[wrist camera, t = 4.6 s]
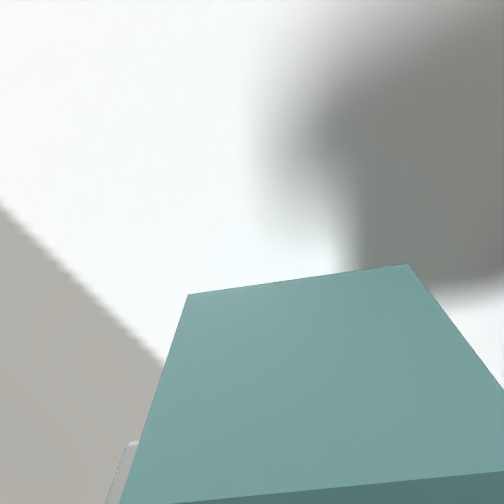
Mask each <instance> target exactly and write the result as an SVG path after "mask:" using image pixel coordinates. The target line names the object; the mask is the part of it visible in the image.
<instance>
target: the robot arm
mask: <svg viewBox="0 0 504 504" xmlns="http://www.w3.org/2000/svg"><path fill="white" fill-rule="evenodd" d="M138 444H139V441H131V442H130V443H129V444H128V445H127V447H126V448H125V450H124V453H123V456H122V459H121V461H120V464H119V467H118V469H117V472H116V475H115V478H114V480H113V483H112V486H111V489H110V491H109V494H108V497H107V500H106V502H105V504H119V501H120V498H121V495H122V492H123V489H124V486H125V483H126V480H127V477H128V474H129V471H130V468H131V465H132V462H133V459H134V456H135V453H136V450H137V447H138Z"/></svg>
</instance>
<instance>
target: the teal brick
mask: <svg viewBox="0 0 504 504" xmlns="http://www.w3.org/2000/svg"><path fill="white" fill-rule="evenodd" d="M119 504H504V390H503V388H502V387H501V386H500V384H499V383H498V382H497V380H496V379H495V378H494V376H493V375H492V374H491V372H490V371H489V370H488V368H487V367H486V366H485V364H484V363H483V362H482V360H481V359H480V358H479V357H478V355H477V354H476V353H475V351H474V350H473V349H472V347H471V346H470V345H469V343H468V342H467V341H466V339H465V338H464V337H463V335H462V334H461V333H460V331H459V330H458V329H457V327H456V326H455V325H454V323H453V322H452V321H451V320H450V318H449V317H448V316H447V314H446V313H445V312H444V310H443V309H442V308H441V306H440V305H439V304H438V302H437V301H436V300H435V298H434V297H433V296H432V294H431V293H430V292H429V290H428V289H427V288H426V286H425V285H424V284H423V282H422V281H421V280H420V279H419V277H418V276H417V275H416V273H415V272H414V271H413V269H412V268H411V267H410V265H409V264H408V263H407V264H400V265H393V266H386V267H379V268H371V269H364V270H357V271H350V272H343V273H336V274H329V275H322V276H315V277H308V278H301V279H294V280H287V281H280V282H273V283H266V284H259V285H252V286H245V287H238V288H231V289H224V290H217V291H210V292H203V293H196V294H189V295H188V296H187V299H186V302H185V305H184V308H183V311H182V314H181V317H180V320H179V323H178V326H177V330H176V333H175V336H174V339H173V342H172V345H171V348H170V351H169V354H168V357H167V360H166V363H165V366H164V369H163V372H162V375H161V378H160V381H159V384H158V387H157V390H156V393H155V396H154V399H153V402H152V405H151V408H150V411H149V414H148V417H147V420H146V423H145V426H144V429H143V432H142V435H141V438H140V441H139V444H138V447H137V450H136V453H135V456H134V459H133V462H132V465H131V468H130V471H129V474H128V477H127V480H126V483H125V486H124V489H123V492H122V495H121V498H120V501H119Z"/></svg>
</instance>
